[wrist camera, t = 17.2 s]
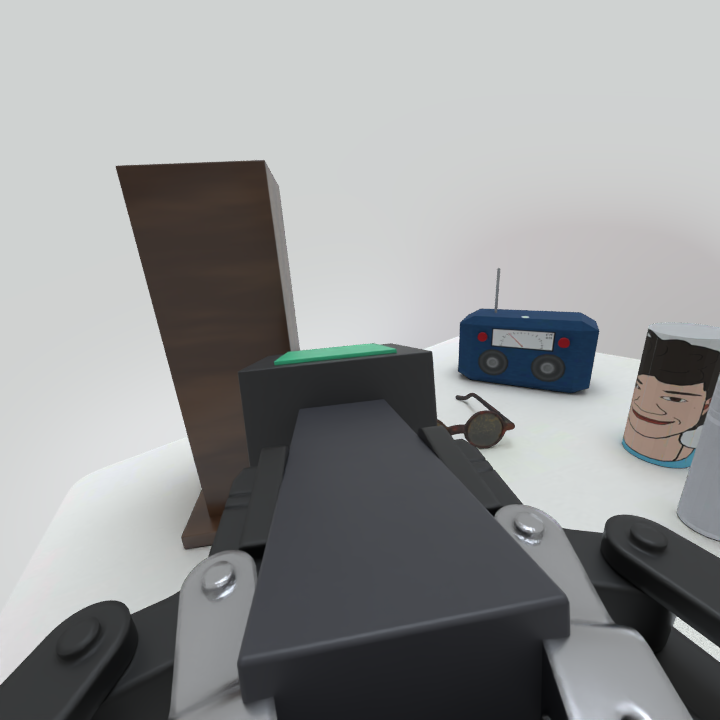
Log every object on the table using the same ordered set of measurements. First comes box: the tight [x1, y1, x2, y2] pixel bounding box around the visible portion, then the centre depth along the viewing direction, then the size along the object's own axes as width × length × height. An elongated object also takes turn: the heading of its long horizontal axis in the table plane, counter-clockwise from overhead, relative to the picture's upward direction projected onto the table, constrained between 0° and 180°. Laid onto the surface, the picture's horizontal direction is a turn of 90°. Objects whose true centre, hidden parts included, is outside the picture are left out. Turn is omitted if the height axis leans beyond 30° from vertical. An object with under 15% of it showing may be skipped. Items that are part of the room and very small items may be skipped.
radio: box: [458, 268, 599, 393], centre depth 59 cm, size 21×9×20 cm, turn 61°
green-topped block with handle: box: [237, 343, 571, 720], centre depth 14 cm, size 21×9×5 cm, turn 8°
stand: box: [116, 160, 300, 549], centre depth 35 cm, size 16×14×32 cm
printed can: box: [622, 323, 720, 468], centre depth 39 cm, size 7×7×15 cm
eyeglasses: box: [437, 393, 515, 448], centre depth 49 cm, size 15×15×5 cm
